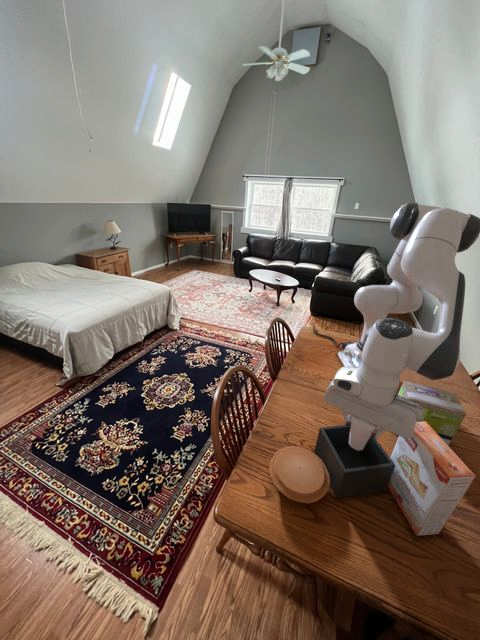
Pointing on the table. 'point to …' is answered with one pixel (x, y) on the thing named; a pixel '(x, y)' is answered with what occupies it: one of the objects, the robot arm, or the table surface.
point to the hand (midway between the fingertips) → (360, 429)
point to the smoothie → (360, 432)
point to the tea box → (436, 408)
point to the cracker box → (427, 480)
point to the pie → (299, 474)
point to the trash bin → (352, 462)
